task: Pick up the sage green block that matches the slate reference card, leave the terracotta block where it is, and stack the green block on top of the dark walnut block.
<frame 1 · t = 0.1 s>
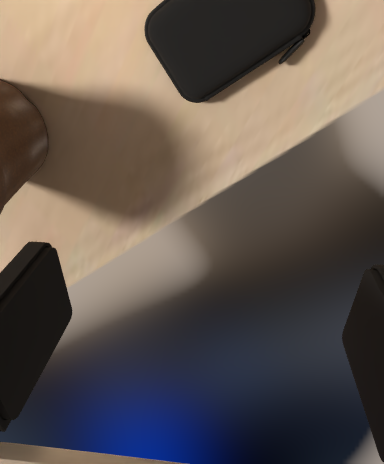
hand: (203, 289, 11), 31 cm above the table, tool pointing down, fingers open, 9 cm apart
plant pot: (3, 128, 42), on the table
carrying case or bag: (230, 28, 34), on the table
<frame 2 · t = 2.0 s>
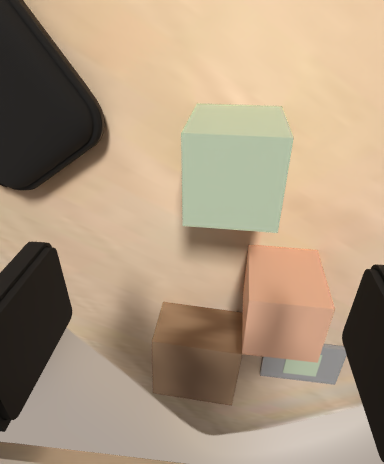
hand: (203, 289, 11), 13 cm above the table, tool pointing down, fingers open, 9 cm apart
sage block: (235, 145, 22), on the table
terracotta block: (277, 272, 27), on the table
reference card: (301, 360, 32), on the table
walnut base: (200, 332, 32), on the table
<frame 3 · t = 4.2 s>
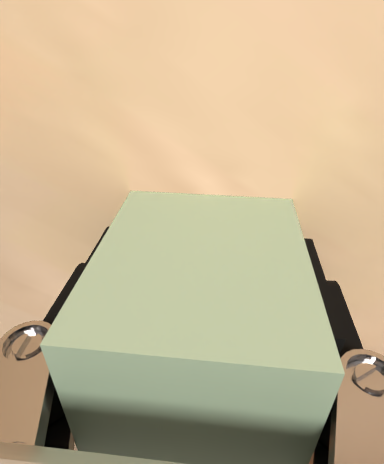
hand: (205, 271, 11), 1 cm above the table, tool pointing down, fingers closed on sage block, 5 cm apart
sage block: (207, 258, 12), on the table, touching gripper
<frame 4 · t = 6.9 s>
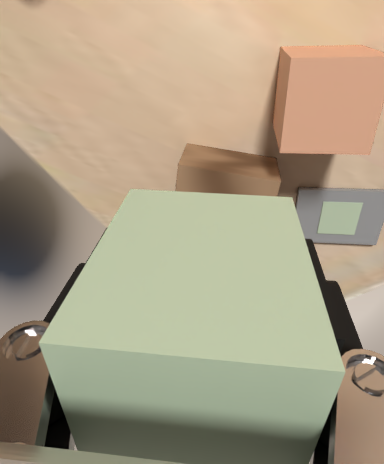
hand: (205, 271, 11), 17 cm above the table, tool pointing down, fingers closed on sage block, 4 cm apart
sage block: (207, 257, 12), point 16 cm above the table, touching gripper
terracotta block: (313, 87, 23), on the table
reference card: (337, 215, 28), on the table
walnut base: (223, 189, 28), on the table
when the fingers open (7 cm above the table, at t = 10.0 s): sage block drops 2 cm, point 4 cm above the table.
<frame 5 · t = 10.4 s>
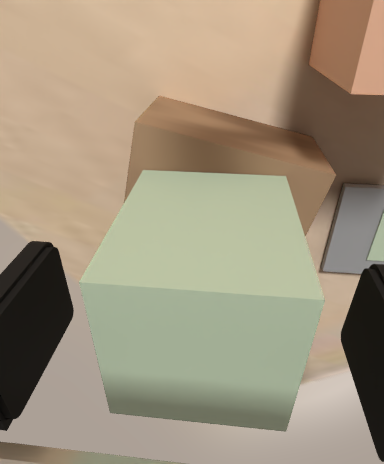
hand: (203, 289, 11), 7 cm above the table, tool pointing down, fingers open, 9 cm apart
sage block: (210, 232, 13), point 4 cm above the table
walnut base: (215, 184, 17), on the table
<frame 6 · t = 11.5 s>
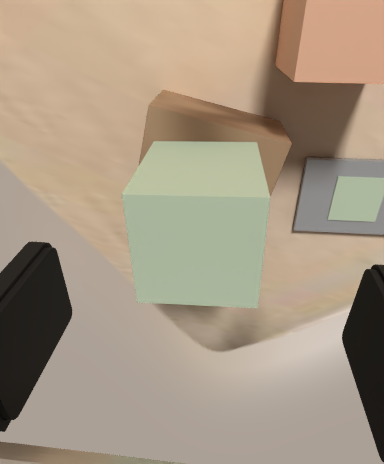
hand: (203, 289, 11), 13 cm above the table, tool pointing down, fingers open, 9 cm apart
sage block: (204, 188, 18), point 4 cm above the table, touching walnut base
terracotta block: (333, 10, 17), on the table
reference card: (354, 196, 22), on the table
walnut base: (206, 160, 22), on the table, touching sage block
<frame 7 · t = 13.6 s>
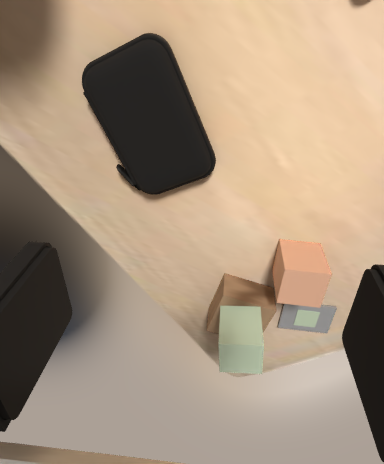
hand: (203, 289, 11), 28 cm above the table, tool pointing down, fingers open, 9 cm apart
sage block: (240, 320, 44), point 4 cm above the table
carrying case or bag: (150, 121, 36), on the table
terracotta block: (295, 257, 43), on the table
reference card: (305, 316, 48), on the table
walnut base: (239, 297, 48), on the table
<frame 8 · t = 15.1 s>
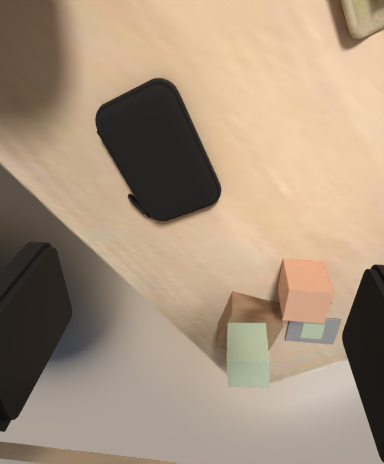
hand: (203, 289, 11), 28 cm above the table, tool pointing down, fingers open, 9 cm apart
sage block: (247, 335, 46), point 4 cm above the table
carrying case or bag: (159, 154, 39), on the table
terracotta block: (299, 274, 45), on the table
reference card: (311, 328, 50), on the table
walnut base: (247, 312, 50), on the table
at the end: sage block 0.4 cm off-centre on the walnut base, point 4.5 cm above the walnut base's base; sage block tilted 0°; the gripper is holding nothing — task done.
